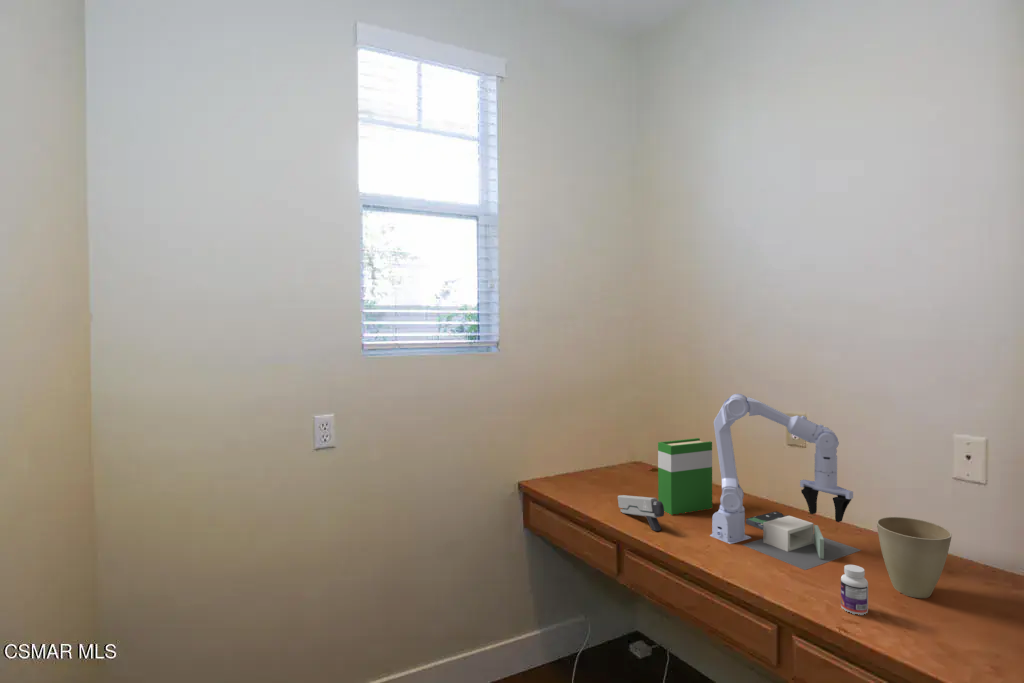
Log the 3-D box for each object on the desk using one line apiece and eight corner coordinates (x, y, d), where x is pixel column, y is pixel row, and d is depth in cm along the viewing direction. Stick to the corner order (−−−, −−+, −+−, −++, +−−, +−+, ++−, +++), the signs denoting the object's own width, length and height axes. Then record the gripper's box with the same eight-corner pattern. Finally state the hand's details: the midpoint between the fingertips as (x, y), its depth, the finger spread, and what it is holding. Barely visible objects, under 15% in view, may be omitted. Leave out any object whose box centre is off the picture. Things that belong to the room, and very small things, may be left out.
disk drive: (775, 519, 191) (745, 526, 184) (775, 510, 191) (745, 517, 184) (803, 528, 182) (772, 536, 175) (803, 520, 182) (772, 527, 175)
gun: (662, 532, 175) (657, 499, 177) (619, 524, 198) (616, 495, 200) (669, 531, 176) (664, 498, 178) (626, 523, 199) (622, 494, 201)
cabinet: (787, 551, 161) (787, 530, 161) (763, 542, 168) (763, 522, 168) (813, 543, 167) (813, 523, 167) (788, 534, 174) (789, 515, 174)
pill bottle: (842, 601, 133) (843, 561, 133) (869, 608, 130) (869, 567, 129) (838, 610, 129) (838, 569, 129) (866, 618, 125) (866, 575, 125)
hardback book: (698, 502, 208) (698, 438, 207) (712, 508, 201) (712, 441, 200) (658, 508, 201) (658, 442, 201) (671, 515, 194) (671, 446, 194)
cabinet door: (827, 559, 155) (827, 539, 155) (819, 558, 156) (819, 539, 156) (820, 543, 166) (820, 525, 166) (813, 542, 167) (813, 524, 167)
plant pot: (869, 591, 138) (869, 527, 137) (884, 572, 148) (884, 512, 148) (945, 613, 127) (946, 544, 127) (955, 591, 138) (956, 526, 137)
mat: (805, 571, 149) (805, 570, 149) (741, 546, 167) (741, 544, 167) (861, 551, 162) (861, 550, 162) (797, 529, 179) (797, 528, 179)
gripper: (859, 474, 158) (859, 522, 158) (810, 463, 171) (810, 507, 171) (845, 477, 155) (844, 526, 155) (795, 466, 167) (795, 512, 168)
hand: (825, 517), depth 163 cm, fingers open, 7 cm apart
